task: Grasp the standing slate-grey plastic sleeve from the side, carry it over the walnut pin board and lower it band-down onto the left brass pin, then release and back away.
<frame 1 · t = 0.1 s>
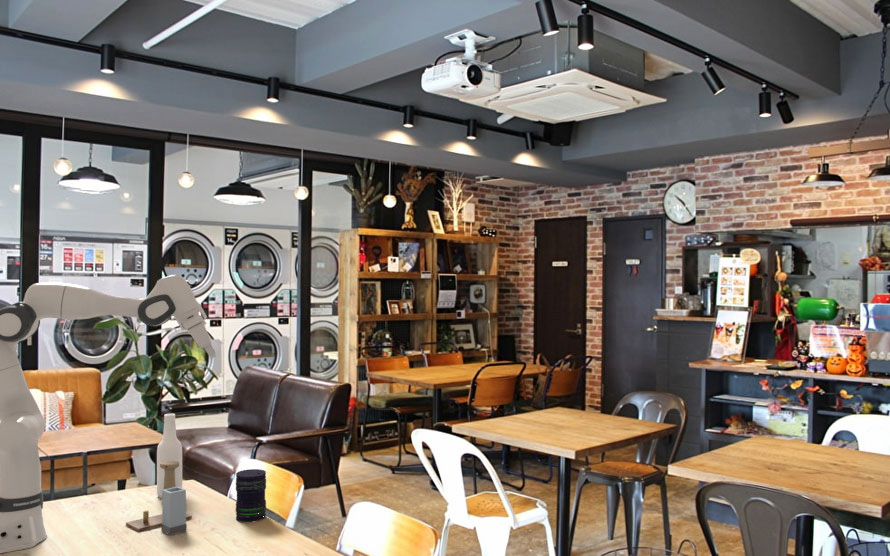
hand: (213, 356, 242), 54 cm above the table, tool tilted 30°, fingers open, 8 cm apart
sleeve: (174, 531, 233), on the table
pin board: (159, 522, 242), on the table
black cylinder: (250, 518, 246), on the table
alcohol: (169, 496, 272), on the table
handle: (169, 506, 260), on the table
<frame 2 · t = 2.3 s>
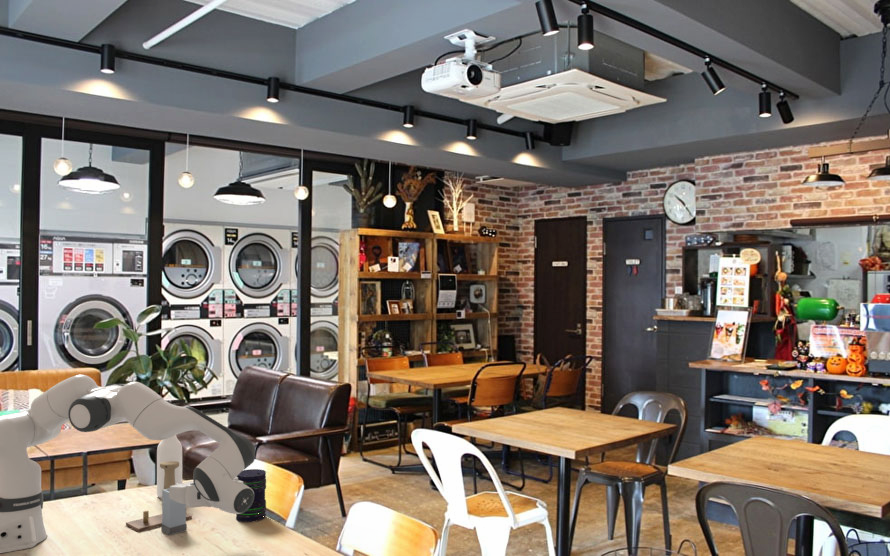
hand: (191, 482, 225), 17 cm above the table, tool horizontal, fingers open, 8 cm apart
nothing on the table moved.
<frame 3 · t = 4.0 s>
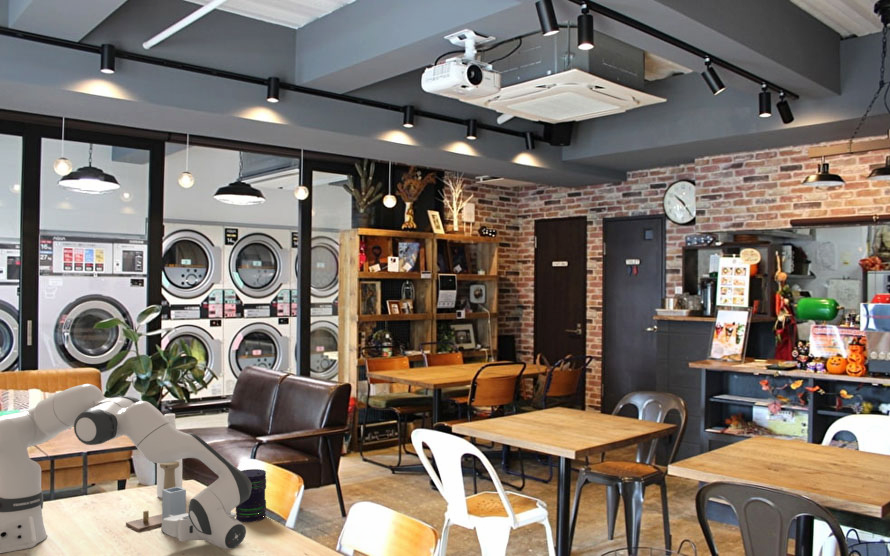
hand: (184, 513, 228), 7 cm above the table, tool horizontal, fingers open, 8 cm apart
nothing on the table moved.
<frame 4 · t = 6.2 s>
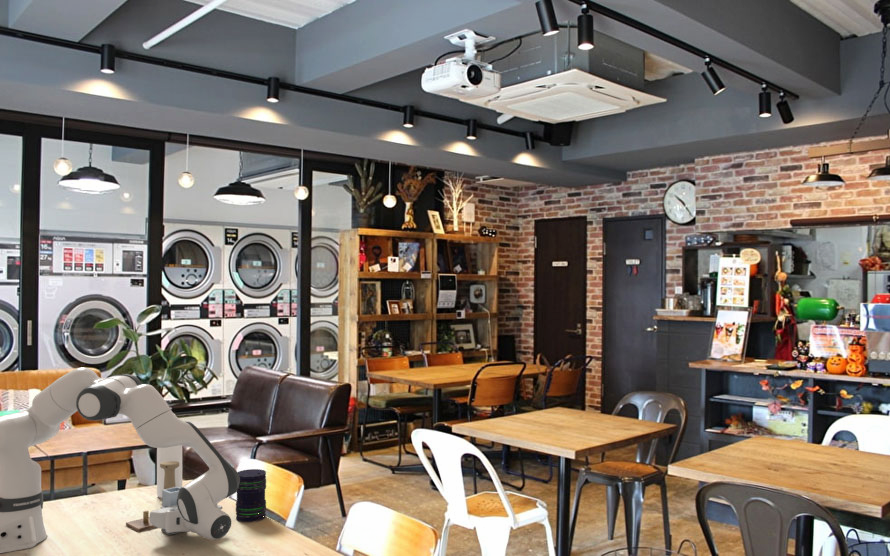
hand: (172, 506, 233), 8 cm above the table, tool horizontal, fingers closed on sleeve, 5 cm apart
sleeve: (174, 531, 233), on the table, touching gripper
everything else where it was.
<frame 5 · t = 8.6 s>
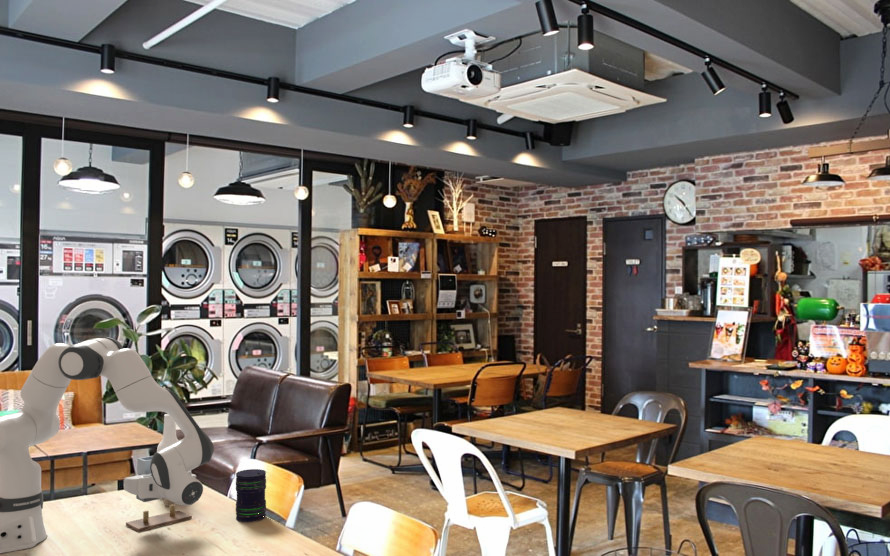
hand: (147, 474, 237), 17 cm above the table, tool horizontal, fingers closed on sleeve, 5 cm apart
sleeve: (148, 498, 236), point 9 cm above the table, touching gripper
everything else where it was.
when the fingers open (10 cm above the table, at t = 11.1 s): sleeve drops 1 cm, resting on pin board.
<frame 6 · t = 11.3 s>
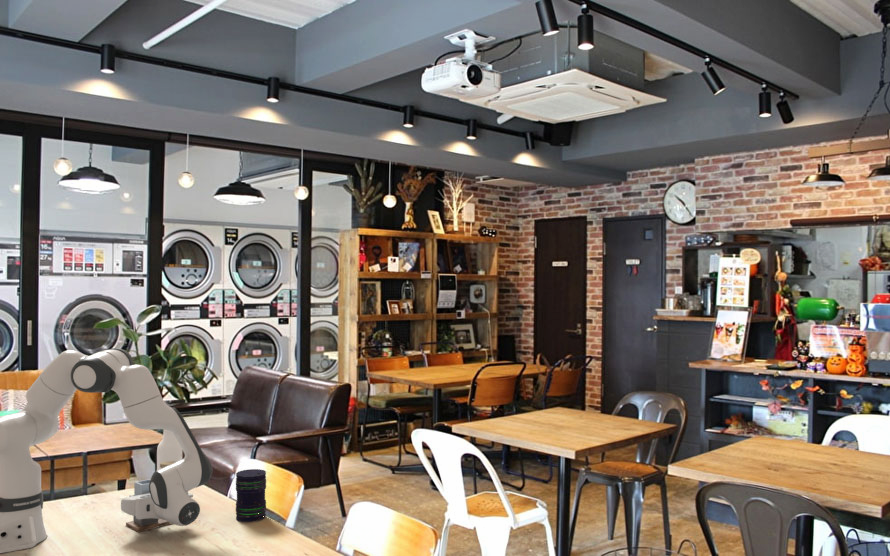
hand: (144, 494, 239), 10 cm above the table, tool horizontal, fingers open, 7 cm apart
sleeve: (145, 522, 238), point 1 cm above the table, touching pin board
everything else where it was.
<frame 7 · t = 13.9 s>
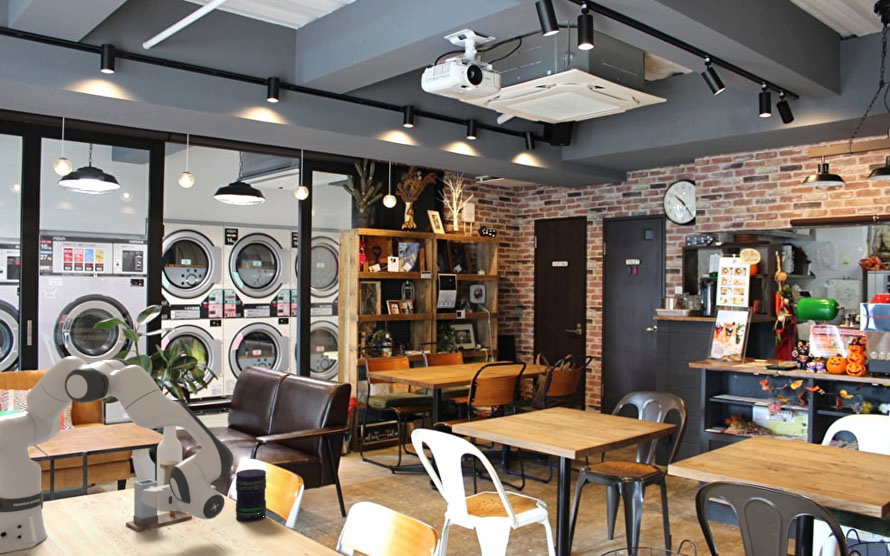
hand: (165, 486, 230), 15 cm above the table, tool horizontal, fingers open, 8 cm apart
nothing on the table moved.
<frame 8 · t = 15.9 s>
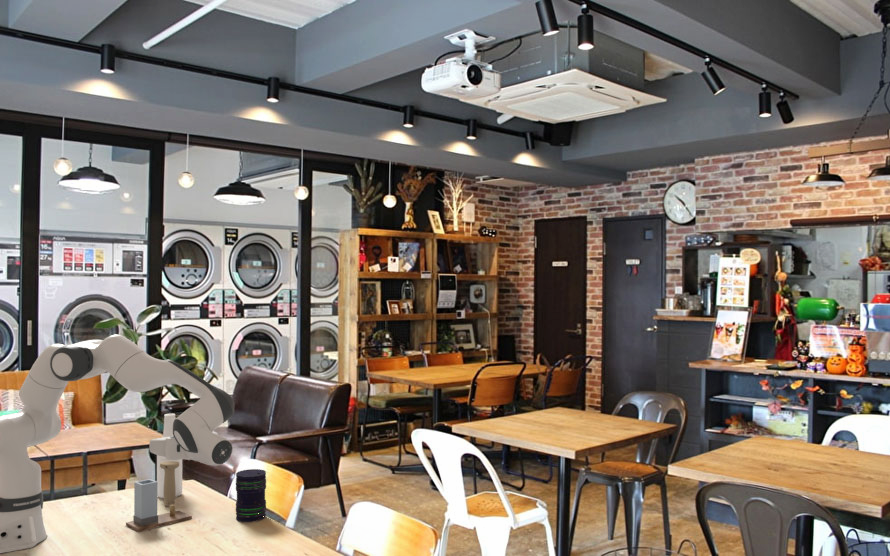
hand: (172, 438, 229), 30 cm above the table, tool horizontal, fingers open, 8 cm apart
nothing on the table moved.
at the end: sleeve 0.0 cm from the target spot on the pin board, point 1.0 cm above the pin board's base; sleeve tilted 0°; the gripper is holding nothing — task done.
